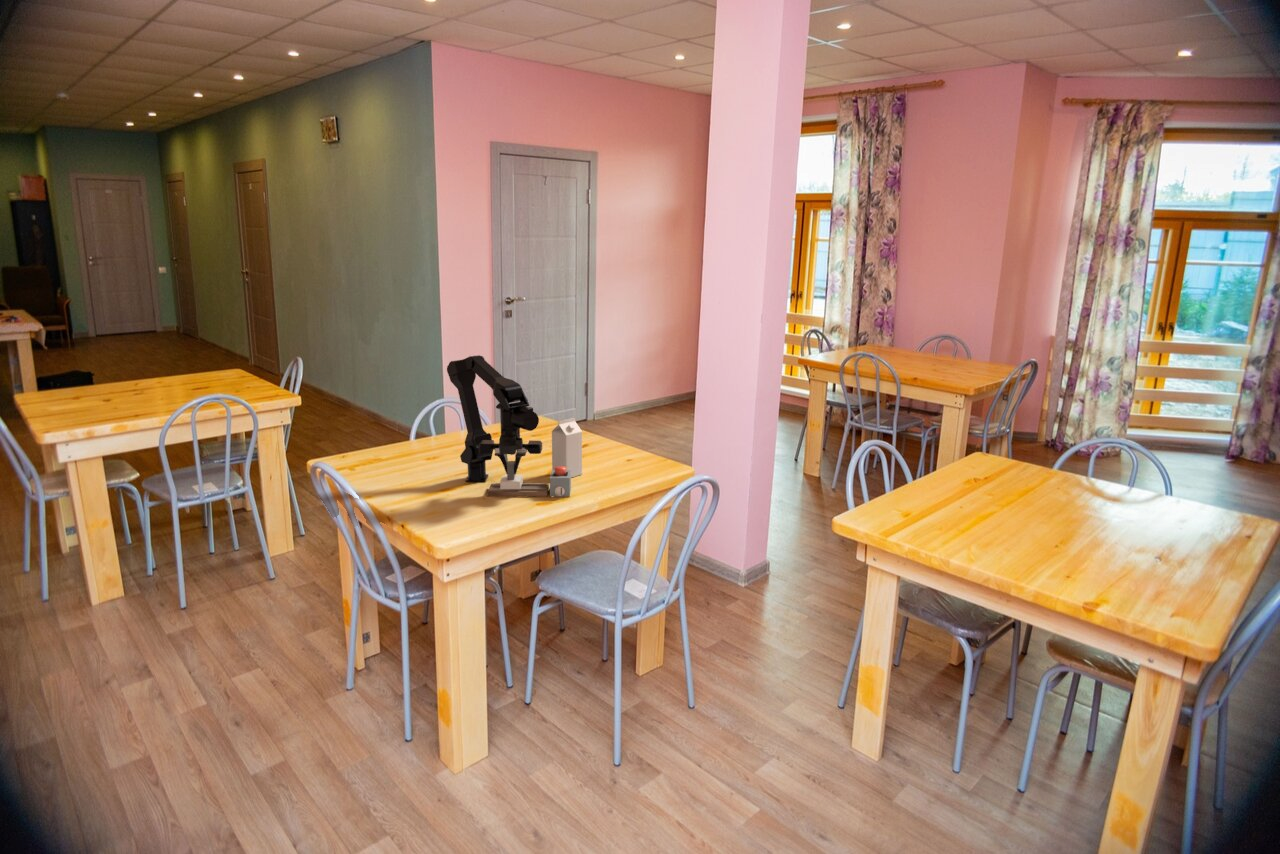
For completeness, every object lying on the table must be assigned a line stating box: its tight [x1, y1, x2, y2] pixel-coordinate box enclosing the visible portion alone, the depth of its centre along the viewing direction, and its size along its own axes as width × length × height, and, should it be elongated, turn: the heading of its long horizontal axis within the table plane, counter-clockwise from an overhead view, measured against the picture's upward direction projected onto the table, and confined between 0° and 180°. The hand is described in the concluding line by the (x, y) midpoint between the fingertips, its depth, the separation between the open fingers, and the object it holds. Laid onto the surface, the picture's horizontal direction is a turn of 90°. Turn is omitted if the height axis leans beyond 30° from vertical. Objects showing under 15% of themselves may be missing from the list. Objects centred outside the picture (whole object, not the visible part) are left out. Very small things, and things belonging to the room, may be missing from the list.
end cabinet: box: [549, 469, 572, 498], centre depth 235 cm, size 8×6×6 cm
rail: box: [486, 482, 550, 498], centre depth 235 cm, size 8×18×2 cm, turn 92°
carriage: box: [499, 460, 524, 489], centre depth 234 cm, size 7×6×7 cm
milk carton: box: [551, 417, 583, 478], centre depth 251 cm, size 7×7×19 cm
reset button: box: [555, 466, 566, 476], centre depth 234 cm, size 4×4×3 cm
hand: (511, 473), depth 234 cm, fingers closed on carriage, 2 cm apart
